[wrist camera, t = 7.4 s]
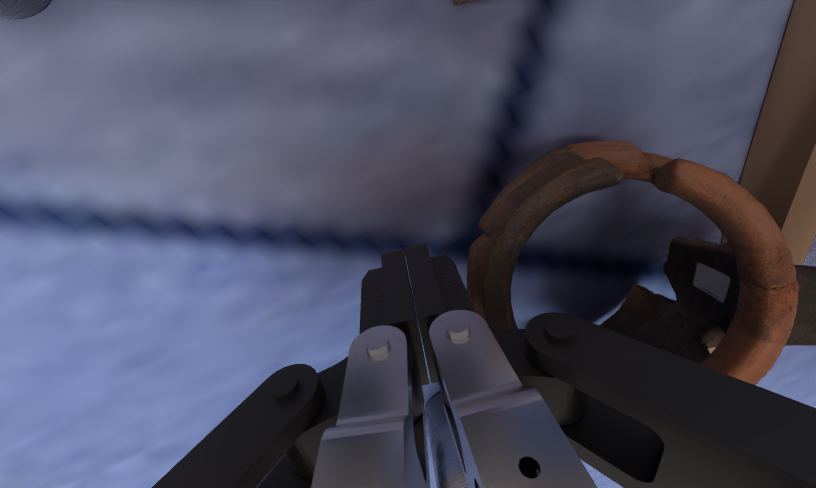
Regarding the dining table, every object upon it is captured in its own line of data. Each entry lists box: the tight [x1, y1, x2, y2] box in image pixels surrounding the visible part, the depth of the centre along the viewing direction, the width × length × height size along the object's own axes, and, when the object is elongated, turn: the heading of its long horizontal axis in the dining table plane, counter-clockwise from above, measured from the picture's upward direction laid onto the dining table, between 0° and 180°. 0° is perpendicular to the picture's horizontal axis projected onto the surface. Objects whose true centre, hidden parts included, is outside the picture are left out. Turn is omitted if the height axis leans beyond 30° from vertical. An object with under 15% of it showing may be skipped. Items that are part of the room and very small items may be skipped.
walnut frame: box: [454, 0, 816, 354], centre depth 13 cm, size 12×18×2 cm
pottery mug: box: [467, 141, 816, 385], centre depth 12 cm, size 12×10×8 cm
